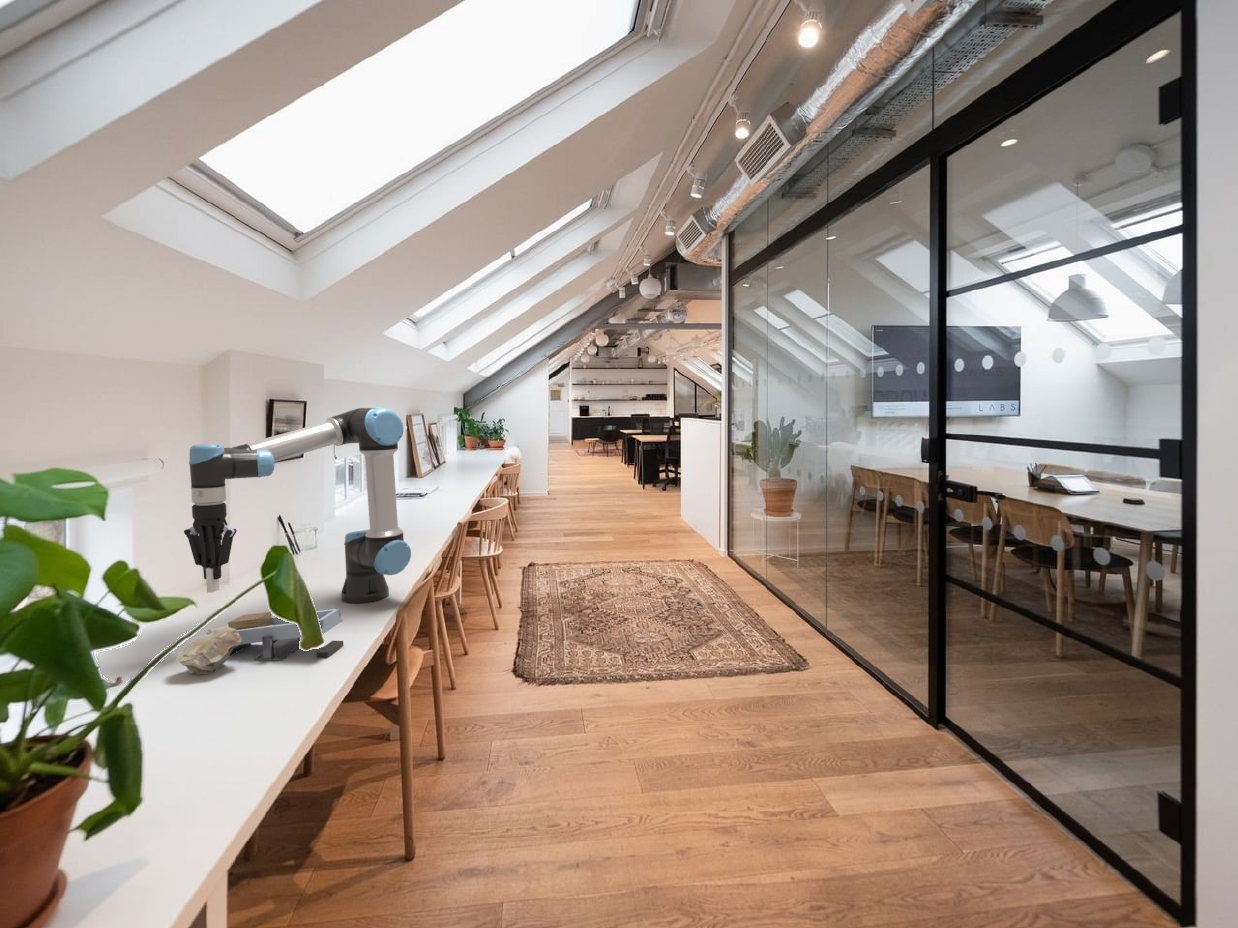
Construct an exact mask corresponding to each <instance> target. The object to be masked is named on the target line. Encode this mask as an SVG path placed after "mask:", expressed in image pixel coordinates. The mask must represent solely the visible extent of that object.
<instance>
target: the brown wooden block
mask: <svg viewBox="0 0 1238 928" xmlns="http://www.w3.org/2000/svg"><path fill="white" fill-rule="evenodd" d="M272 617H273V616H272V612H271V611H265V612H257V613H256V612H255V613H249V614H248V613H247V614H241V615H240V616H238V617H236V618H234V619H232V620H230V621H228V622H227V626H228V627H230V628H233V629H236V630H240V629H248V628H256V627H264V626H270V625H273V621H272Z"/></svg>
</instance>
